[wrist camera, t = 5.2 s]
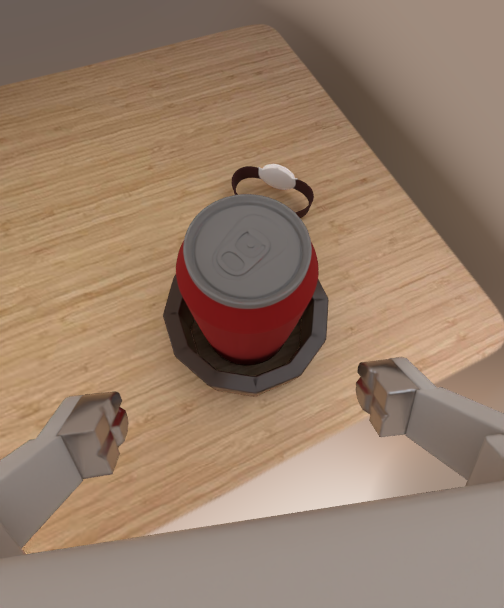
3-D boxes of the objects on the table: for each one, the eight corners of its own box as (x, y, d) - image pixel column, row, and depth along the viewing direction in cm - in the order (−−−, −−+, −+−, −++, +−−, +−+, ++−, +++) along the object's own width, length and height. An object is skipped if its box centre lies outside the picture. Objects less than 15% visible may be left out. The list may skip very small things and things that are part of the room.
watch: (314, 197, 27) (324, 167, 24) (301, 235, 26) (309, 209, 22) (242, 175, 28) (241, 144, 25) (224, 211, 27) (221, 182, 23)
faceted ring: (257, 426, 20) (260, 431, 16) (152, 334, 22) (130, 317, 18) (337, 316, 23) (357, 296, 19) (238, 245, 25) (236, 213, 21)
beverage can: (304, 323, 23) (361, 241, 12) (249, 385, 21) (253, 361, 10) (244, 273, 24) (243, 158, 13) (188, 327, 22) (130, 248, 11)
